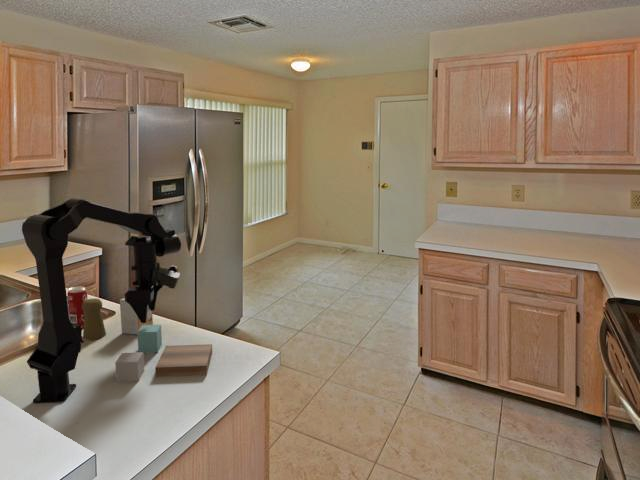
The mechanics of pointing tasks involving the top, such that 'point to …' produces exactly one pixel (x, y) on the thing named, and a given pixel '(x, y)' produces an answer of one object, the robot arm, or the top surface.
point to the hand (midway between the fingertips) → (148, 316)
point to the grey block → (129, 367)
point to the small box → (132, 318)
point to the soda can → (77, 304)
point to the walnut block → (184, 360)
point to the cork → (93, 320)
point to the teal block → (149, 338)
